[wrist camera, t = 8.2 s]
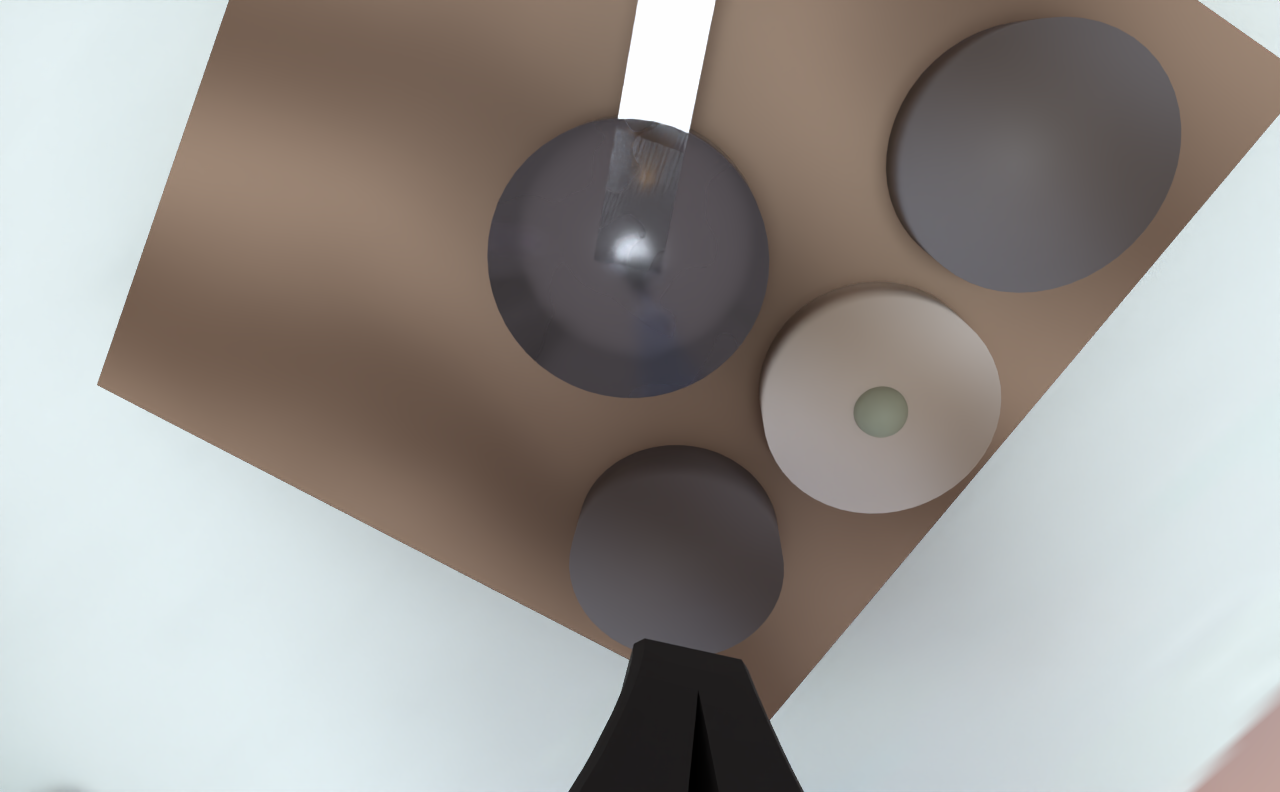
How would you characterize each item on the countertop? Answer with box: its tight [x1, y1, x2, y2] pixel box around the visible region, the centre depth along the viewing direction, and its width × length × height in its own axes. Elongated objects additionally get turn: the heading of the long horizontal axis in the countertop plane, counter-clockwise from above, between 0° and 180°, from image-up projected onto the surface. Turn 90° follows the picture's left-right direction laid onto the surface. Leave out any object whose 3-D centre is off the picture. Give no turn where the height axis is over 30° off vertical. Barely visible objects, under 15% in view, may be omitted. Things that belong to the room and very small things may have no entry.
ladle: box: [487, 0, 769, 398], centre depth 13 cm, size 10×5×4 cm, turn 169°
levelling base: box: [97, 0, 1280, 720], centre depth 16 cm, size 17×17×3 cm
